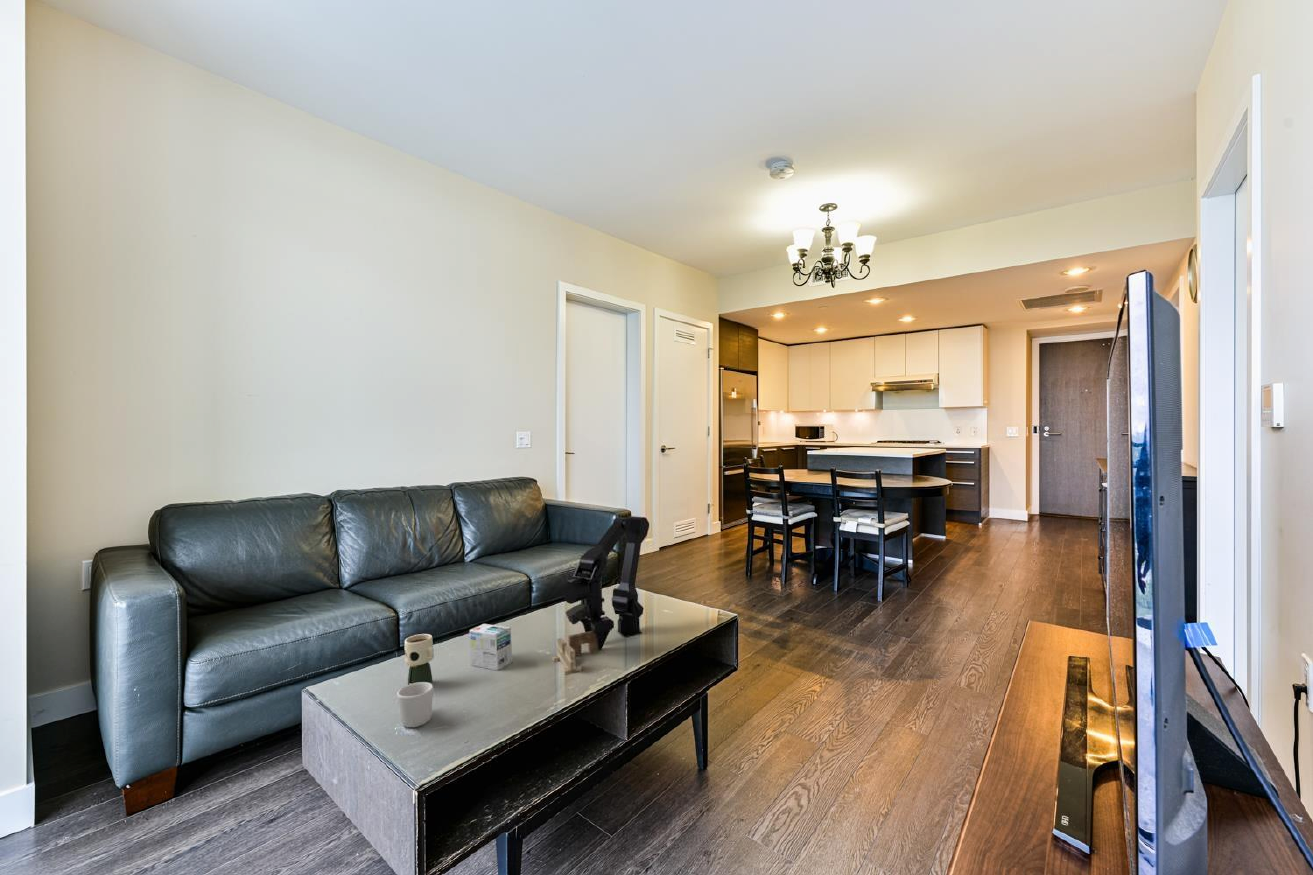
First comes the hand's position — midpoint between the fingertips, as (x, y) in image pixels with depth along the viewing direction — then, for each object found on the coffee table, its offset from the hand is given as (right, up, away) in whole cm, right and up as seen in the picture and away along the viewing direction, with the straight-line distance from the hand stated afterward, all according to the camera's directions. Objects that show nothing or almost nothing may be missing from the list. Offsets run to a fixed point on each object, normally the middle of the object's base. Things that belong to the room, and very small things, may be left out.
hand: (594, 644), depth 173 cm
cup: (-38, -4, -39) cm, 55 cm away
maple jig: (-7, -2, -11) cm, 13 cm away
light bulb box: (-30, -3, -8) cm, 31 cm away
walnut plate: (-3, -2, -2) cm, 4 cm away
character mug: (-46, -4, -21) cm, 50 cm away
